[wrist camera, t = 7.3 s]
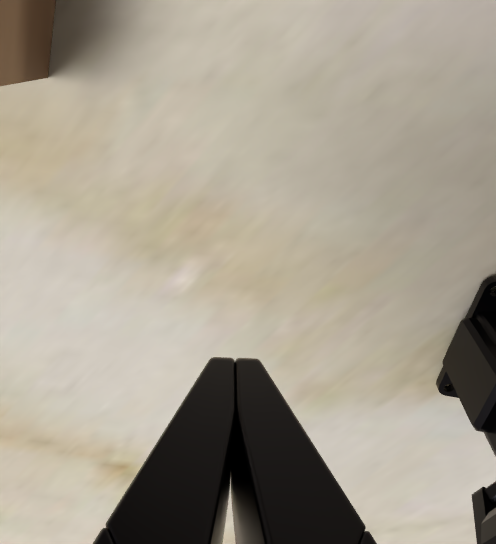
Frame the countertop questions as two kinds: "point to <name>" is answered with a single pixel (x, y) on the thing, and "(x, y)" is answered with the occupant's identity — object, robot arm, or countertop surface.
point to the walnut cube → (25, 39)
